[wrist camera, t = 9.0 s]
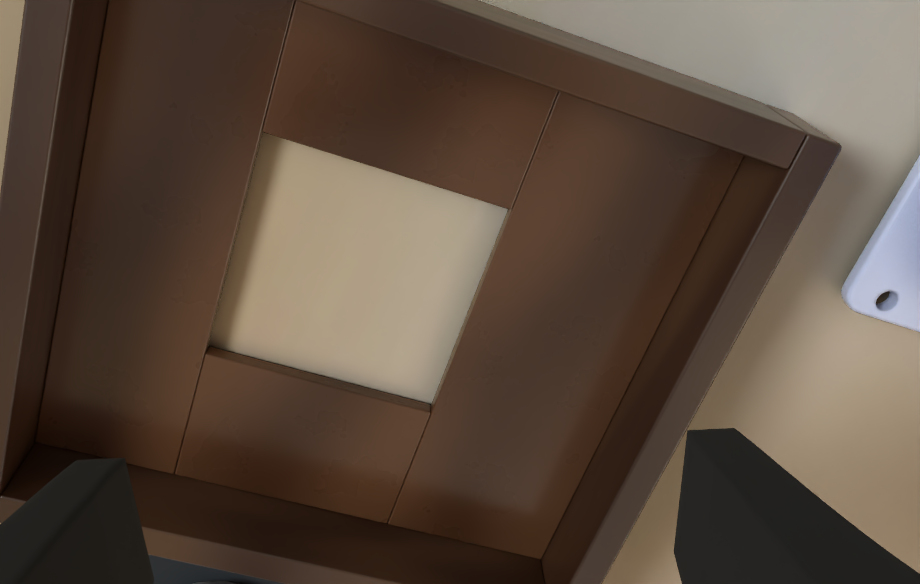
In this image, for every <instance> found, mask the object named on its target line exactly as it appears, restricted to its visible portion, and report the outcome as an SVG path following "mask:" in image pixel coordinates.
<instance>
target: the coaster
mask: <svg viewBox="0 0 920 584" xmlns="http://www.w3.org/2000/svg"><path fill="white" fill-rule="evenodd" d="M149 559H150V564H151V568H152V572H153V576H154V583H153V584H194V583H196V582H212V581H228V582H232V583H236V584H284V583H279V582H275V581H270V580H265V579H260V578H256V577H251V576H246V575H242V574H237V573H232V572H228V571H223V570H218V569H214V568H209V567H204V566H200V565H195V564H190V563H186V562H181V561H176V560H172V559H167V558H162V557H158V556H153V555H149Z"/></svg>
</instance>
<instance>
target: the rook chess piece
mask: <svg viewBox="0 0 920 584" xmlns="http://www.w3.org/2000/svg"><path fill="white" fill-rule="evenodd" d="M194 584H236V583H232V582H228V581H212V582H196V583H194Z"/></svg>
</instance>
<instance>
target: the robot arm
mask: <svg viewBox="0 0 920 584" xmlns="http://www.w3.org/2000/svg"><path fill="white" fill-rule="evenodd" d="M887 291H890V293H889V296H888V298H887V299H886V300H885V301H883V302H881V303H876V300H877V298H878V297H879V296H880V295H881V294H882V293H884V292H887ZM841 295H842V299H843V300H844V302H845V303H846V304H847V305H848V307H849V308H850V309H852V310H854V311H855V312H857V313H860V314H864V315H867V316H870V317H873V318H876V319H879V320H883V321H886V322H889V323H892V324H895V325H898V326H902V327H905V328H908V329H911V330H914V331H918V332H920V156H919V157H918V159H917V161H916V162H915V164H914V166H913V167H912V169H911V171H910V172H909V174H908V176H907V177H906V179H905V181H904V183H903V184H902V186H901V188H900V189H899V191H898V193H897V194H896V196H895V198H894V199H893V201H892V203H891V204H890V206H889V208H888V210H887V211H886V213H885V215H884V216H883V218H882V220H881V221H880V223H879V225H878V226H877V228H876V230H875V231H874V233H873V235H872V236H871V238H870V240H869V242H868V243H867V245H866V247H865V248H864V250H863V252H862V253H861V255H860V257H859V258H858V260H857V262H856V263H855V265H854V267H853V269H852V270H851V272H850V274H849V275H848V277H847V279H846V280H845V282H844V284H843V287H842V290H841ZM674 554H675V558H676V562H677V566H678V570H679V574H680V578H681V581H682V584H920V574H919V573H918V572H916V571H915V570H913V569H912V568H911V567H909V566H908V565H906V564H905V563H903V562H902V561H901V560H899V559H898V558H896V557H895V556H894V555H892V554H891V553H889V552H888V551H887V550H885V549H884V548H883V547H881V546H880V545H879V544H877V543H876V542H875V541H873V540H872V539H871V538H869V537H868V536H867V535H865V534H864V533H863V532H862V531H860V530H859V529H858V528H856V527H855V526H854V525H852V524H851V523H850V522H849V521H847V520H846V519H845V518H844V517H842V516H841V515H840V514H839V513H837V512H836V511H835V510H833V509H832V508H831V507H830V506H828V505H827V504H826V503H825V502H823V501H822V500H821V499H820V498H819V497H817V496H816V495H815V494H814V493H812V492H811V491H810V490H809V489H808V488H806V487H805V486H804V485H803V484H802V483H800V482H799V481H798V480H797V479H795V478H794V477H793V476H792V475H791V474H789V473H788V472H787V471H786V470H785V469H783V468H782V467H781V466H780V465H779V464H777V463H776V462H775V461H774V460H773V459H772V458H770V457H769V456H768V455H767V454H766V453H764V452H763V451H762V450H761V449H760V448H758V447H757V446H756V445H755V444H754V443H752V442H751V441H750V440H749V439H747V438H746V437H745V436H744V435H742V434H741V433H740V432H739V431H737V430H736V429H735V428H727V429H707V430H688V431H687V440H686V448H685V457H684V466H683V475H682V484H681V493H680V501H679V510H678V519H677V528H676V537H675V546H674ZM153 583H154V576H153V572H152V568H151V564H150V559H149V555H148V551H147V547H146V543H145V539H144V535H143V530H142V526H141V522H140V518H139V514H138V510H137V506H136V502H135V497H134V493H133V489H132V485H131V481H130V477H129V473H128V469H127V464H126V460H125V458H109V459H88V460H76V461H75V462H73V463H72V464H71V465H70V466H68V467H67V468H66V469H64V470H63V471H62V472H61V473H60V474H58V475H57V476H56V477H55V478H54V479H52V480H51V481H50V482H49V483H48V484H46V485H45V486H44V487H43V488H42V489H41V490H39V491H38V492H37V493H36V494H35V495H34V496H32V497H31V498H30V499H29V500H28V501H27V502H26V503H24V504H23V505H22V506H21V507H20V508H19V509H18V510H16V511H15V512H14V513H13V514H12V515H11V516H9V517H8V518H7V519H6V520H5V521H4V522H3V523H1V524H0V584H153Z"/></svg>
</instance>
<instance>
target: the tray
mask: <svg viewBox="0 0 920 584" xmlns="http://www.w3.org/2000/svg"><path fill="white" fill-rule="evenodd" d="M263 132H265V133H268V134H271V135H274V136H277V137H281V138H284V139H287V140H290V141H293V142H297V143H300V144H303V145H306V146H309V147H313V148H316V149H319V150H322V151H325V152H328V153H332V154H335V155H338V156H341V157H344V158H348V159H351V160H354V161H357V162H360V163H364V164H367V165H370V166H373V167H376V168H380V169H383V170H386V171H389V172H392V173H395V174H399V175H402V176H405V177H408V178H411V179H415V180H418V181H421V182H424V183H427V184H431V185H434V186H437V187H440V188H443V189H447V190H450V191H453V192H456V193H459V194H462V195H466V196H469V197H472V198H475V199H478V200H482V201H485V202H488V203H491V204H494V205H498V206H501V207H504V208H507V209H508V212H507V214H506V217H505V219H504V222H503V224H502V227H501V230H500V232H499V235H498V237H497V240H496V242H495V245H494V247H493V250H492V252H491V255H490V257H489V260H488V262H487V265H486V268H485V270H484V273H483V275H482V278H481V280H480V283H479V285H478V288H477V290H476V293H475V295H474V298H473V301H472V303H471V306H470V308H469V311H468V313H467V316H466V318H465V321H464V323H463V326H462V328H461V331H460V333H459V336H458V339H457V341H456V344H455V346H454V349H453V351H452V354H451V356H450V359H449V361H448V364H447V366H446V369H445V372H444V374H443V377H442V379H441V382H440V384H439V387H438V389H437V392H436V394H435V397H434V399H433V402H432V404H431V405H430V404H426V403H423V402H419V401H415V400H411V399H407V398H403V397H400V396H396V395H392V394H388V393H384V392H381V391H377V390H373V389H369V388H365V387H362V386H358V385H354V384H350V383H346V382H343V381H339V380H335V379H331V378H327V377H323V376H320V375H316V374H312V373H308V372H304V371H301V370H297V369H293V368H289V367H285V366H282V365H278V364H274V363H270V362H266V361H262V360H259V359H255V358H251V357H247V356H243V355H240V354H236V353H232V352H228V351H224V350H221V349H217V348H213V347H208V345H209V341H210V337H211V333H212V329H213V325H214V321H215V317H216V313H217V310H218V306H219V302H220V298H221V294H222V290H223V286H224V282H225V278H226V274H227V270H228V266H229V263H230V259H231V255H232V251H233V247H234V243H235V239H236V235H237V231H238V227H239V223H240V220H241V216H242V212H243V208H244V204H245V200H246V196H247V192H248V188H249V184H250V180H251V176H252V173H253V169H254V165H255V161H256V157H257V153H258V149H259V145H260V141H261V137H262V133H263ZM840 151H841V145H840V144H839V143H837V142H836V141H834V140H833V139H831V138H830V137H828V136H827V135H825V134H823V133H822V132H820V131H819V130H817V129H816V128H814V127H813V126H811V125H810V124H808V123H807V122H805V121H803V120H802V119H800V118H799V117H797V116H796V115H794V114H792V113H789V112H787V111H784V110H781V109H778V108H775V107H773V106H770V105H764V104H763V103H761V102H759V101H756V100H753V99H750V98H748V97H745V96H742V95H739V94H737V93H734V92H731V91H728V90H725V89H723V88H720V87H717V86H714V85H712V84H709V83H706V82H703V81H700V80H698V79H695V78H692V77H689V76H687V75H684V74H681V73H678V72H675V71H673V70H670V69H667V68H664V67H662V66H659V65H656V64H653V63H650V62H648V61H645V60H642V59H639V58H637V57H634V56H631V55H628V54H625V53H623V52H620V51H617V50H614V49H612V48H609V47H606V46H603V45H600V44H598V43H595V42H592V41H589V40H587V39H584V38H581V37H578V36H575V35H573V34H570V33H567V32H564V31H561V30H559V29H556V28H553V27H550V26H548V25H545V24H542V23H539V22H536V21H534V20H531V19H528V18H525V17H523V16H520V15H517V14H514V13H511V12H509V11H506V10H503V9H500V8H498V7H495V6H492V5H489V4H486V3H484V2H481V1H478V0H25V5H24V12H23V20H22V28H21V36H20V44H19V52H18V60H17V67H16V75H15V83H14V91H13V99H12V107H11V114H10V122H9V130H8V138H7V146H6V154H5V162H4V169H3V177H2V185H1V193H0V523H3V522H4V521H5V520H6V519H7V518H8V517H9V516H11V515H12V514H13V513H14V512H15V511H16V510H18V509H19V508H20V507H21V506H22V505H23V504H24V503H26V502H27V501H28V500H29V499H30V498H31V497H32V496H34V495H35V494H36V493H37V492H38V491H39V490H41V489H42V488H43V487H44V486H45V485H46V484H48V483H49V482H50V481H51V480H52V479H54V478H55V477H56V476H57V475H58V474H60V473H61V472H62V471H63V470H64V469H66V468H67V467H68V466H70V465H71V464H72V463H73V462H75V461H76V460H88V459H109V458H125V460H126V464H127V469H128V473H129V477H130V481H131V485H132V489H133V493H134V497H135V502H136V506H137V510H138V514H139V518H140V522H141V526H142V530H143V535H144V539H145V543H146V547H147V551H148V555H153V556H158V557H162V558H167V559H172V560H176V561H181V562H186V563H190V564H195V565H200V566H204V567H209V568H214V569H218V570H223V571H228V572H232V573H237V574H242V575H246V576H251V577H256V578H260V579H265V580H270V581H275V582H279V583H284V584H602V582H603V581H604V579H605V577H606V575H607V573H608V571H609V570H610V568H611V566H612V564H613V562H614V561H615V559H616V557H617V555H618V553H619V551H620V550H621V548H622V546H623V544H624V542H625V541H626V539H627V537H628V535H629V533H630V532H631V530H632V528H633V526H634V524H635V522H636V521H637V519H638V517H639V515H640V513H641V512H642V510H643V508H644V506H645V504H646V502H647V501H648V499H649V497H650V495H651V493H652V492H653V490H654V488H655V486H656V484H657V483H658V481H659V479H660V477H661V475H662V473H663V472H664V470H665V468H666V466H667V464H668V463H669V461H670V459H671V457H672V455H673V454H674V452H675V450H676V448H677V446H678V444H679V443H680V441H681V439H682V437H683V435H684V434H685V432H686V430H687V428H688V426H689V424H690V423H691V421H692V419H693V417H694V415H695V414H696V412H697V410H698V408H699V406H700V405H701V403H702V401H703V399H704V397H705V395H706V394H707V392H708V390H709V388H710V386H711V385H712V383H713V381H714V379H715V377H716V375H717V374H718V372H719V370H720V368H721V366H722V365H723V363H724V361H725V359H726V357H727V356H728V354H729V352H730V350H731V348H732V346H733V345H734V343H735V341H736V339H737V337H738V336H739V334H740V332H741V330H742V328H743V326H744V325H745V323H746V321H747V319H748V317H749V316H750V314H751V312H752V310H753V308H754V307H755V305H756V303H757V301H758V299H759V297H760V296H761V294H762V292H763V290H764V288H765V287H766V285H767V283H768V281H769V279H770V278H771V276H772V274H773V272H774V270H775V268H776V267H777V265H778V263H779V261H780V259H781V258H782V256H783V254H784V252H785V250H786V248H787V247H788V245H789V243H790V241H791V239H792V238H793V236H794V234H795V232H796V230H797V229H798V227H799V225H800V223H801V221H802V219H803V218H804V216H805V214H806V212H807V210H808V209H809V207H810V205H811V203H812V201H813V199H814V198H815V196H816V194H817V192H818V190H819V189H820V187H821V185H822V183H823V181H824V180H825V178H826V176H827V174H828V172H829V170H830V169H831V167H832V165H833V163H834V161H835V160H836V158H837V156H838V154H839V152H840Z"/></svg>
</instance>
